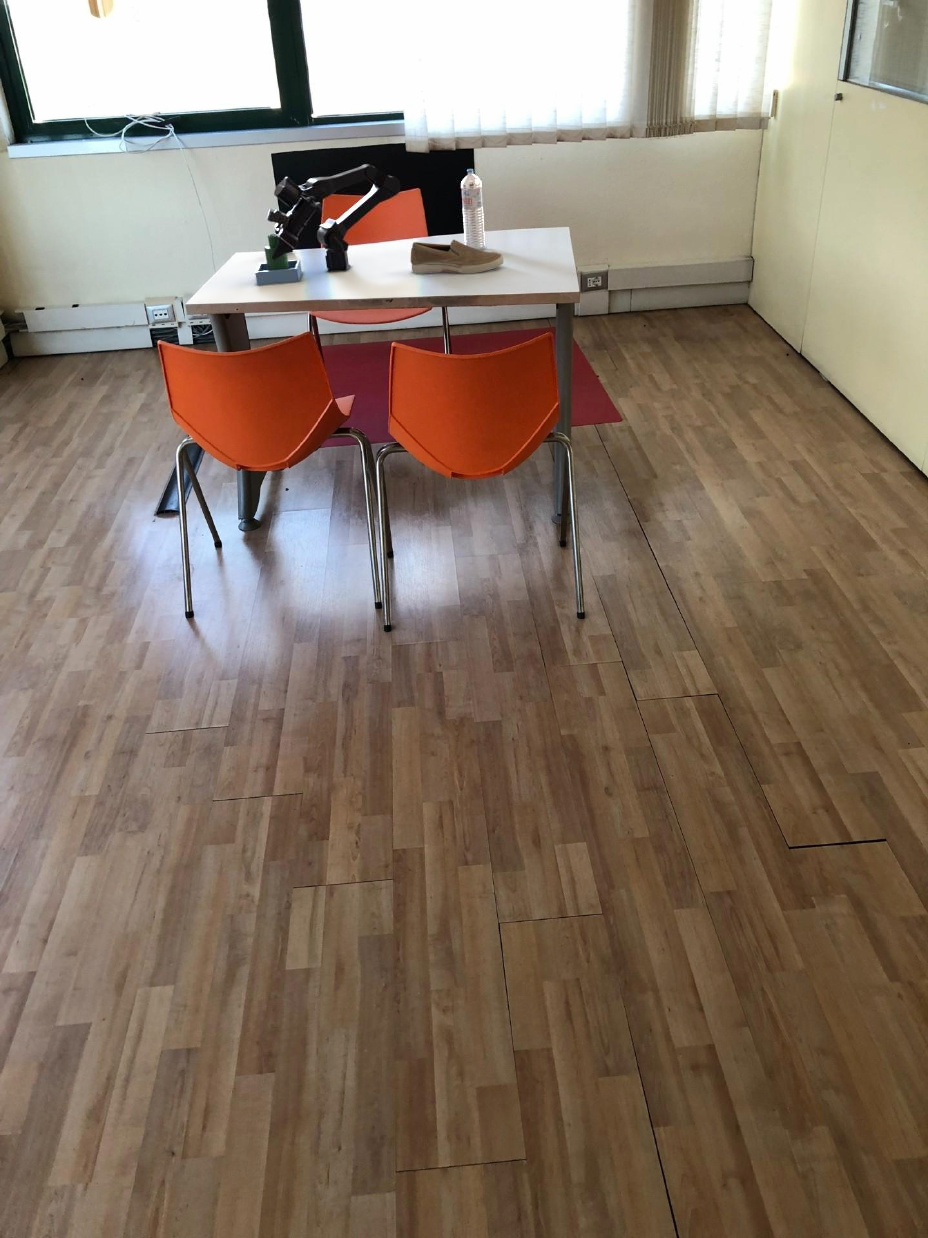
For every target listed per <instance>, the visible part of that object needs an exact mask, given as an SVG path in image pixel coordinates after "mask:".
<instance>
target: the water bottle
mask: <svg viewBox="0 0 928 1238" xmlns="http://www.w3.org/2000/svg"><path fill="white" fill-rule="evenodd" d="M466 171H467V175H465V177H464V178H463V179H462V181H461V183H460V189H461V199H462V200H461V201H462V217H463V218H462V221H463V237H464V244H465V245H467V246H469V247H472V248H476V249H479V250H482V251H483V250H484V249H485V248H486V238H485V222H484V207H483V194H482V187H483V186H482V180H480V178H479V177H478V176H477V175H475V174H474V169H473V168H468V169H467V170H466Z"/></svg>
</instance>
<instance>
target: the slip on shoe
mask: <svg viewBox="0 0 928 1238" xmlns="http://www.w3.org/2000/svg"><path fill="white" fill-rule="evenodd" d="M411 245H412V246H411V248H410V263H411V271H412V273H414V274H419V275H424V274H425V275H426V274H434V273H452V274H463V275H464V274H468V275H469V274H477V273H482V272H486V271H489V270H493V269H496V268H498V267H500V266H502V265H503V264H504V263H505V262H504V255H503V254H502V253H500V252H495V251H486V250H483V249H482V250H479V249H476V248H472V247H469V246H467V245H465V243H462V242H460V241H458V240H456V239H452V241H450V244H442V243H428V242H418V241H414V242H412V244H411Z"/></svg>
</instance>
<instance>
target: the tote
mask: <svg viewBox="0 0 928 1238" xmlns="http://www.w3.org/2000/svg"><path fill="white" fill-rule="evenodd" d="M288 265H289V269H281V270H271V271H268V266H267V262H260V263H259V264H258V266H257V268H256V269H255V272H254V275H255V281H256V285H257V286H266V285H268V286H269V285H277V284H287V283H298V282H300V280H301V277H302V273H303V270H302V263H301V259H293V260H288Z"/></svg>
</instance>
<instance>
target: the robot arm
mask: <svg viewBox="0 0 928 1238" xmlns="http://www.w3.org/2000/svg"><path fill="white" fill-rule="evenodd" d="M367 180H368V181H369V182H370V183H371V184H372V187H371V189H370V191H369V192H368V193H367V194H366V195H364V197H362V198H360V200H358V202H356V203H355V204H354V205H353V206H351V207H350V208H349V209H348V210H347V211H345V212H344V213H343V214H342V215H341V216H339V218H337V219H332V218H329V217H328V219H326V221H325V222H324V223H323V224H320V225H319V228H318V230H317V233H316V237H317V240H318V242H319V243H320V244H321V245H322V246H323V248H324V249H325V250H326V251H325V253H326V255H325V256H324V257H325V265H326V269H327V270H326V272H330V273H331V272H346V271H348V269H350V268H351V264H349V263H350V262H349V257H348V250H349V243H348V242H347V241H345V240H344V239H345V238H346V235H347V233H348V231H349V230H351V228H352V227H354V226H355V225H356V224H357V223H358V222H360V221H361V220H362V219H363V218H364V217H365V216H366V215H368V214H369V213H370V212H372V210H373V209H375V207H377V206H378V205H379V204H381V203H383V202H385V201H388V200H391V199H392V198H395V196H398V195H399V193H400V192H401V187H402V186H401V182H400V180H399V179H398V178H397V177H395V176H391V175H388V174H386V173H384V172H383V171H381V170H379V169H378V168H376V167H375V166H374V165H371V164H368V163H364V164H362V165H361V166H358V167H355V168H352V169H349V170H346V171H343V172H340V173H338V174H334V175H332V176H319V177H312V178H309V179H308V180H306V183H304V184H301V185H297V184H296V183H295V182H294V181H293V180H292V179H291V178H290V177H288V176H285V177H284V178H283V180H281V181H280V182H279V184H277V185H276V187H275V189H274V192H273V195H274V196H275V198H277V199H278V200H280V201H281V202H282V203H284V205H286V206H287V207H289V208H290V207H293V208H292V209H291V210H289V211H288V212H287V213H284V212H282V211H281V210H278V209H273V208H268V212H267V215H266V220H267V221H268V222H271V223H274V224H275V225H274V234H278V235H277V236H278V244H277V246H276V249H275V251H274V253H273V255H272V259H273V260H275V259H277V258H278V257H280V256H282V255H283V254H285V253H287V252H289V251H291V250H293V251H294V250H295V249H297V248H298V246H299V245H300V242H299V237H300V236H299V235H300V233H301V231H303V229H306V227H307V223H308V221H310V219H311V217H312V216H313V215H314V213H315V211H317V212H318V213H319V214H323V209H322V203H321V202H320V201H321V200H322V201H323V200H325V199H327V198H329V197H330V196H332V195H333V194H334V193H335V192H336V191H338V190H341V189H343V188H346V187H349V186H352V185H354V184H357V183H360V182H361V183H362V182H364V181H367ZM305 196H307V197H305ZM313 199H314V200H318V202H315V201H314V200H313ZM287 254H288V253H287Z"/></svg>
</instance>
